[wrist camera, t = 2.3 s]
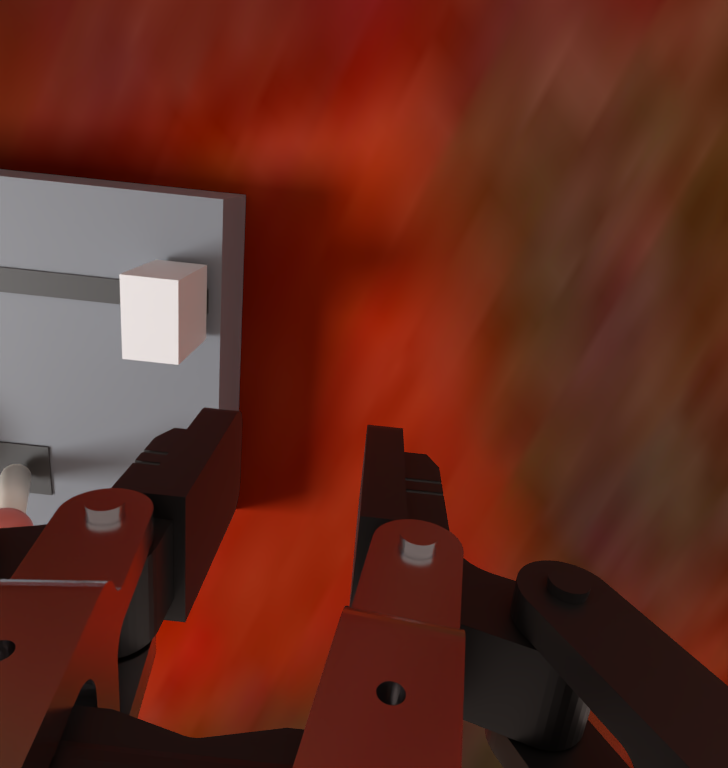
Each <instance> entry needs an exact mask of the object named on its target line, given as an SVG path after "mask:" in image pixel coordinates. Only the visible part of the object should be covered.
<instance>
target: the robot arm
mask: <svg viewBox="0 0 728 768" xmlns="http://www.w3.org/2000/svg"><path fill="white" fill-rule="evenodd" d="M241 450H242V414H241V412H240V411H234V410H224V409H215V408H205V407H204V408H203V409H202V410H201V411H200V412H199V414H198V415H197V416H196V418H195V419H194V420H193V422H192V423H191V424H190V425H189V427H188V428H187V429H182V428H173V429H171V430H169V431H167V432H165V433H163V434H161V435H158V436H156V437H155V438H154V439H153V440H152V441H151V442H150V443H149V445H148V446H147V447H146V448H145V449H144V452H142V453H141V454H140V455H139V456H138V457H137V458H136V460H135V463H132V464H131V465H130V467H129V468H128V469H127V470H126V471H125V472H124V474H123V475H122V476H121V477H120V478H119V479H118V480H117V482H116V483H115V484H114V485H113V486H112V487H111V488H106V489H98V490H92V491H88V492H85V493H82V494H79V495H77V496H74V497H72V498H70V499H69V500H67V501H65V502H64V503H63V504H62V505H61V506H60V507H59V508H58V509H57V510H56V512H55V513H54V515H53V516H52V518H51V519H50V521H49V522H48V524H44V525H35V526H22V527H10V528H0V768H461V762H462V732H463V720H465V721H468V722H471V723H473V724H476V725H478V726H481V727H483V728H485V734H486V738H487V741H488V744H489V746H490V748H491V749H492V751H493V753H494V754H495V756H496V757H497V759H498V760H499V761H500V763H501V764H502V766H503V767H504V768H630V767H629V766H628V765H627V764H626V763H625V762H624V760H623V759H622V758H621V757H620V756H619V755H618V754H617V752H616V751H615V750H614V749H613V748H612V747H611V746H610V745H609V743H608V742H607V741H606V740H605V739H604V738H603V737H602V735H601V734H600V733H599V732H598V731H597V730H596V729H595V727H594V726H593V725H592V724H591V723H590V722H589V721H588V716H589V713H590V710H591V711H592V712H593V713H594V714H595V715H596V716H597V717H598V718H599V720H600V721H601V722H602V723H603V724H604V725H605V726H606V727H607V729H608V730H609V731H610V732H611V733H612V734H613V735H614V736H615V737H616V739H617V740H618V741H619V742H620V743H621V744H622V746H623V747H624V748H625V750H626V751H627V753H628V755H629V757H630V759H631V761H632V763H633V766H634V768H728V686H727V685H726V684H725V683H724V682H722V681H721V680H720V679H719V678H718V677H716V676H715V675H714V674H713V673H712V672H711V671H709V670H708V669H707V668H706V667H705V666H703V665H702V664H701V663H700V662H699V661H698V660H696V659H695V658H694V657H693V656H692V655H690V654H689V653H688V652H687V651H686V650H684V649H683V648H682V647H681V646H680V645H679V644H677V643H676V642H675V641H674V640H673V639H671V638H670V637H669V636H668V635H667V634H666V633H664V632H663V631H662V630H661V629H660V628H658V627H657V626H656V625H655V624H654V623H653V622H651V621H650V620H649V619H648V618H647V617H645V616H644V615H643V614H642V613H641V612H640V611H638V610H637V609H636V608H635V607H634V606H632V605H631V604H630V603H629V602H628V601H627V600H625V599H624V598H623V597H622V596H621V595H619V594H618V593H617V592H616V591H615V590H614V589H612V588H611V587H610V586H609V585H608V584H606V583H605V582H604V581H603V580H601V579H600V578H599V577H597V576H596V575H594V574H592V573H591V572H589V571H587V570H585V569H582V568H580V567H577V566H575V565H571V564H568V563H564V562H559V561H536V562H533V563H529V564H527V565H525V566H524V567H523V568H522V569H521V570H520V571H519V573H518V576H517V580H516V581H514V580H511V579H507V578H504V577H501V576H498V575H495V574H492V573H489V572H486V571H484V570H482V569H480V568H478V567H476V566H474V565H472V564H471V563H469V562H468V561H466V560H465V559H464V558H463V547H462V544H461V542H460V541H459V540H458V538H457V537H456V536H455V535H454V534H452V533H451V532H450V531H449V526H448V520H447V514H446V508H445V502H444V496H443V490H442V484H441V477H440V471H439V467H438V466H437V465H436V464H435V463H434V462H433V461H432V460H431V459H430V458H429V457H428V456H427V455H426V454H417V453H407V452H404V442H403V428H393V427H384V426H374V425H367V434H366V443H365V452H364V461H363V470H362V480H361V489H360V498H359V508H358V518H357V528H356V539H355V550H354V561H353V573H352V584H351V595H350V606H345V607H344V609H343V611H342V614H341V617H340V620H339V623H338V626H337V629H336V632H335V636H334V639H333V642H332V645H331V648H330V651H329V654H328V658H327V661H326V664H325V667H324V670H323V673H322V676H321V680H320V683H319V686H318V689H317V692H316V695H315V698H314V702H313V705H312V708H311V711H310V714H309V717H308V720H307V724H306V727H305V730H302V729H293V728H282V729H273V730H265V731H257V732H248V733H240V734H231V735H223V736H214V737H206V738H190V737H186V736H183V735H180V734H178V733H175V732H172V731H170V730H167V729H164V728H162V727H159V726H156V725H154V724H151V723H148V722H146V721H143V720H140V719H137V718H138V714H139V711H140V707H141V704H142V700H143V697H144V693H145V690H146V686H147V683H148V679H149V676H150V672H151V669H152V665H153V662H154V658H155V654H156V634H157V632H158V630H159V628H160V626H161V624H162V622H163V620H170V621H179V622H186V619H187V617H188V615H189V613H190V610H191V608H192V606H193V604H194V601H195V599H196V597H197V595H198V593H199V590H200V588H201V586H202V584H203V581H204V579H205V577H206V575H207V572H208V570H209V568H210V566H211V563H212V561H213V559H214V557H215V554H216V552H217V550H218V548H219V546H220V543H221V541H222V539H223V537H224V534H225V532H226V530H227V528H228V525H229V523H230V521H231V519H232V516H233V514H234V512H235V509H236V506H237V502H238V497H239V490H240V478H241Z"/></svg>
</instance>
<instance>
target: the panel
mask: <svg viewBox="0 0 728 768" xmlns="http://www.w3.org/2000/svg"><path fill="white" fill-rule="evenodd" d="M245 211H246V195H243V194H234V193H224V192H215V191H205V190H195V189H186V188H176V187H167V186H157V185H148V184H138V183H129V182H119V181H110V180H100V179H90V178H81V177H71V176H62V175H52V174H43V173H33V172H24V171H14V170H4V169H0V475H1V473H2V471H3V470H4V469H5V468H6V467H7V466H9V465H12V464H21V465H24V466H26V467H27V468H28V469H29V470H30V472H31V483H30V490H29V496H28V502H27V509H26V514H27V515H28V516H29V518H30V519H31V520H32V522H33V525H34V526H35V525H44V524H48V522H49V521H50V519H51V518H52V516H53V515H54V513H55V512H56V510H57V509H58V508H59V507H60V506H61V505H62V504H63V503H64V502H65V501H67V500H69V499H70V498H72V497H74V496H77V495H79V494H82V493H85V492H88V491H92V490H98V489H106V488H111V487H112V486H113V485H114V484H115V483H116V482H117V480H118V479H119V478H120V477H121V476H122V475H123V474H124V472H125V471H126V470H127V469H128V468H129V467H130V465H131V464H132V463H135V460H136V458H137V457H138V456H139V455H140V454H141V453H142V452H144V449H145V448H146V447H147V446H148V445H149V443H150V442H151V441H152V440H153V439H154V438H155V437H156V436H158V435H161V434H163V433H165V432H167V431H169V430H171V429H173V428H182V429H187V428H188V427H189V425H190V424H191V423H192V422H193V420H194V419H195V418H196V416H197V415H198V414H199V412H200V411H201V410H202V409H203V408H204V407H205V408H215V409H224V410H234V411H239V392H240V362H241V332H242V301H243V271H244V241H245ZM154 260H166V261H175V262H185V263H194V264H204V265H207V309H206V339H205V340H204V341H203V342H202V343H201V344H200V345H199V346H198V347H197V348H196V349H195V350H194V351H193V352H192V353H191V354H189V355H188V356H187V357H186V358H185V359H184V360H183V361H182V362H181V363H180V364H179V365H175V364H166V363H156V362H147V361H137V360H128V359H122V337H121V307H120V278H119V274H121V273H124V272H126V271H129V270H131V269H134V268H136V267H139V266H141V265H144V264H146V263H149V262H151V261H154ZM235 510H236V509H235ZM232 517H233V516H232ZM228 526H229V525H228Z"/></svg>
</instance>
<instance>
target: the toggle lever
mask: <svg viewBox="0 0 728 768" xmlns="http://www.w3.org/2000/svg"><path fill="white" fill-rule="evenodd" d="M30 483H31V472H30V470H29V469H28V468H27V467H26V466H24V465H21V464H12V465H9V466H7V467H6V468H5V469H4V470H3V471H2V473H1V475H0V528H10V527H22V526H34V525H33V522H32V520H31V519H30V518H29V516H28V515H27V514H26V509H27V502H28V496H29V490H30Z"/></svg>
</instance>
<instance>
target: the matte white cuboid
mask: <svg viewBox="0 0 728 768" xmlns="http://www.w3.org/2000/svg"><path fill="white" fill-rule="evenodd" d="M119 278H120V307H121V337H122V359H128V360H137V361H147V362H156V363H166V364H175V365H179V364H180V363H181V362H182V361H183V360H184V359H185V358H186V357H187V356H188V355H189V354H191V353H192V352H193V351H194V350H195V349H196V348H197V347H198V346H199V345H200V344H201V343H202V342H203V341H204V340H205V339H206V309H207V265H204V264H194V263H185V262H175V261H166V260H154V261H151V262H149V263H146V264H144V265H141V266H139V267H136V268H134V269H131V270H129V271H126V272H124V273H121V274H119Z"/></svg>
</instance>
